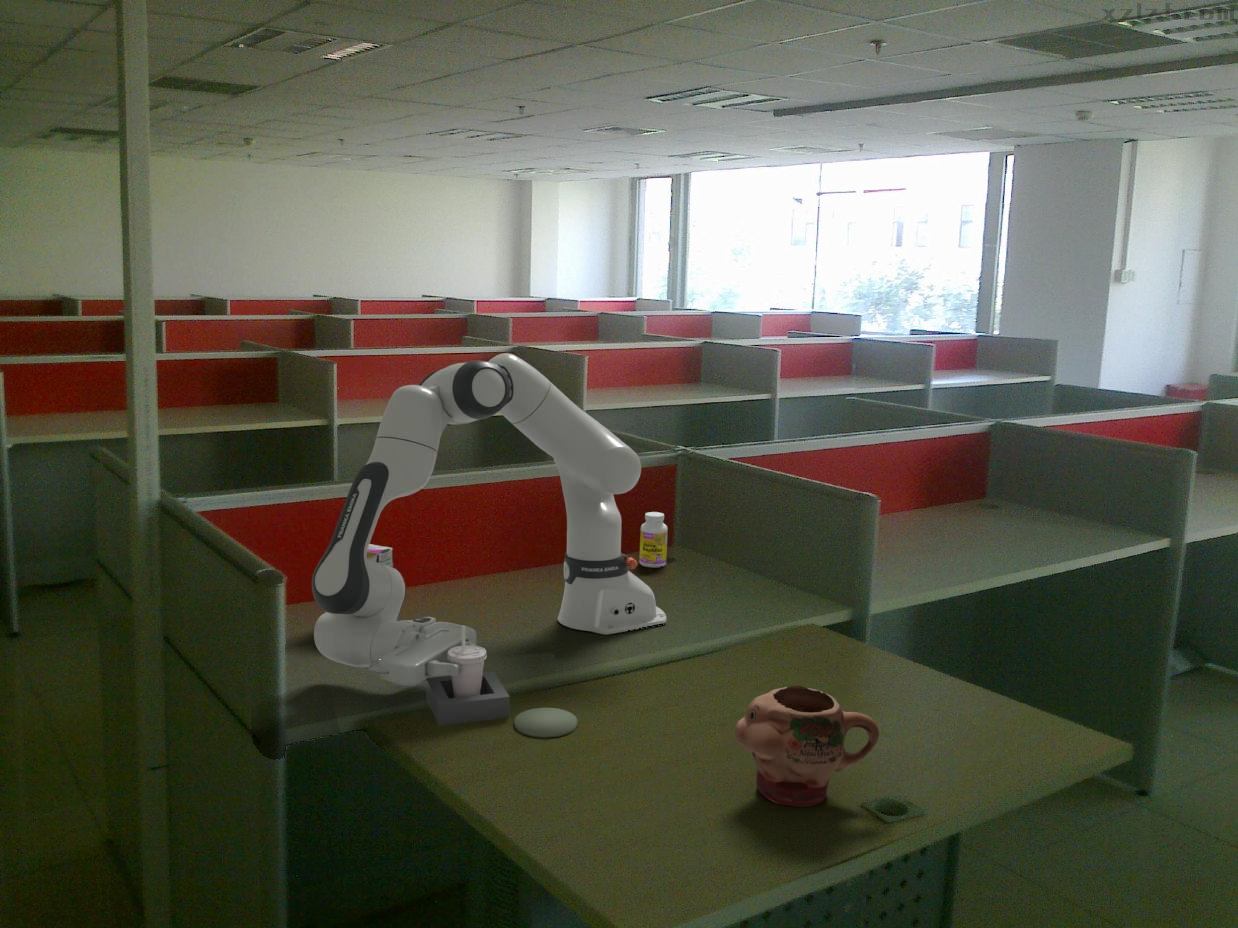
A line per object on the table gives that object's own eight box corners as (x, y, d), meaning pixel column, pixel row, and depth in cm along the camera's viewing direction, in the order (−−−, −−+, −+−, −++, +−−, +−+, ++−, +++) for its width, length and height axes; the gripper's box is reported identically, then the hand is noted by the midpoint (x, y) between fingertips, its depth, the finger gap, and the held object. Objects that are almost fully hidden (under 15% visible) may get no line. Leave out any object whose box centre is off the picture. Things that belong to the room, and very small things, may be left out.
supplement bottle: (637, 567, 261) (638, 516, 258) (641, 560, 267) (642, 510, 265) (664, 569, 260) (666, 517, 257) (667, 562, 266) (669, 511, 264)
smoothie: (448, 699, 179) (448, 619, 176) (487, 699, 179) (487, 619, 177) (445, 715, 172) (445, 632, 170) (485, 715, 173) (486, 632, 170)
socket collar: (492, 690, 183) (493, 670, 182) (509, 716, 172) (509, 696, 172) (425, 697, 179) (425, 678, 178) (438, 725, 168) (438, 704, 168)
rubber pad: (566, 707, 176) (566, 704, 176) (585, 732, 167) (585, 729, 167) (507, 715, 173) (507, 711, 173) (523, 740, 164) (523, 737, 164)
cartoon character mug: (859, 770, 157) (866, 681, 154) (885, 812, 145) (893, 716, 143) (725, 771, 156) (729, 681, 153) (740, 813, 144) (745, 716, 141)
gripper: (362, 650, 169) (436, 664, 164) (433, 613, 188) (502, 625, 182) (363, 687, 170) (436, 703, 165) (433, 647, 189) (502, 660, 184)
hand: (471, 661), depth 174 cm, fingers closed on smoothie, 6 cm apart
